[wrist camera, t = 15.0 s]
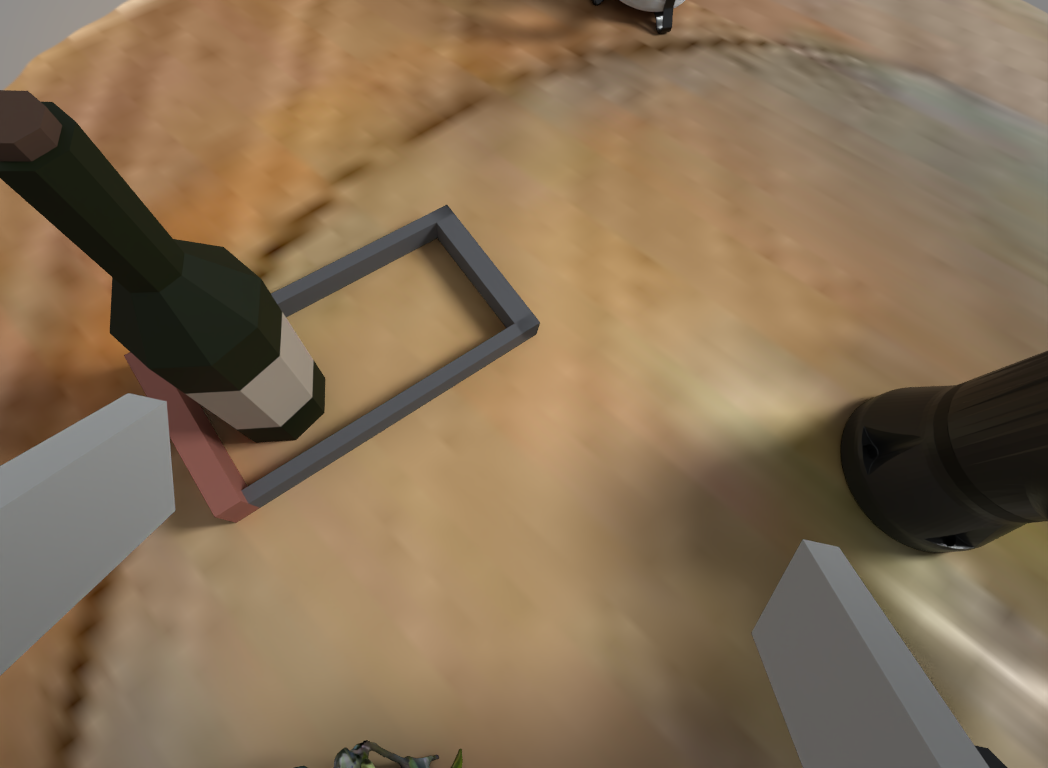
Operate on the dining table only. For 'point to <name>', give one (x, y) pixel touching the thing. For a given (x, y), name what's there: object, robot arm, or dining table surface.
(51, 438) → the robot arm
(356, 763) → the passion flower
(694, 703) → the dining table surface
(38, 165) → the wine bottle
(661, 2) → the coffee press
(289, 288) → the frame
